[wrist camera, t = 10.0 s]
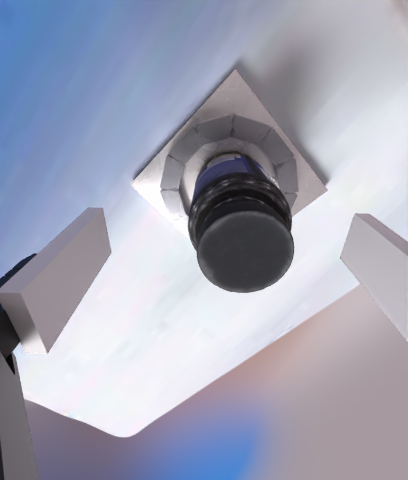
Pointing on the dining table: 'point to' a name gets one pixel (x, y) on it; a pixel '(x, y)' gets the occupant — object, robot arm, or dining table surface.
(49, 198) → the dining table surface
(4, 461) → the robot arm
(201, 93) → the dining table surface
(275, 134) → the hub plate
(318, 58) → the dining table surface
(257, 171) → the pill bottle
